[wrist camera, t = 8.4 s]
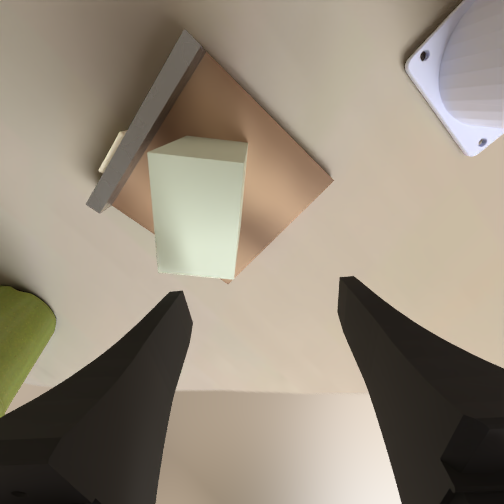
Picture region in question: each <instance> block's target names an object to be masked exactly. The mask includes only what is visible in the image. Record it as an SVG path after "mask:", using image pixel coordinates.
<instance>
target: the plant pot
mask: <svg viewBox="0 0 504 504" xmlns="http://www.w3.org/2000/svg"><path fill="white" fill-rule="evenodd" d="M55 325H56V319H55V316H54V314H53V312H52V311H51V309H50V308H49V307H48V306H47V305H46V304H45V303H44V302H43V301H42V300H40V299H39V298H38V297H36V296H35V295H33V294H31V293H25V292H21V291H18V290H16V289H14V288H13V287H10V286H0V418H1V417H2V416H4V415H5V412H6V410H7V408H8V407H9V405H10V403H11V402H12V400H13V398H14V397H15V395H16V393H17V392H18V390H19V389H20V387H21V385H22V384H23V382H24V380H25V379H26V377H27V375H28V374H29V372H30V371H31V369H32V367H33V366H34V364H35V362H36V361H37V359H38V357H39V356H40V354H41V353H42V351H43V349H44V348H45V346H46V344H47V343H48V341H49V340H50V338H51V336H52V334H53V333H54V330H55Z"/></svg>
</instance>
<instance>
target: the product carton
mask: <svg viewBox="0 0 504 504" xmlns="http://www.w3.org/2000/svg"><path fill="white" fill-rule="evenodd" d="M247 150H248V143H246V142H238V141H229V140H220V139H212V138H203V137H195V136H185V137H182V138H180V139H178V140H175V141H173V142H171V143H168V144H166V145H163V146H161V147H159V148H156V149H154V150H152V151H149V152H147V156H148V167H149V178H150V189H151V200H152V210H153V221H154V232H155V243H156V254H157V265H158V273H167V274H178V275H189V276H199V277H210V278H221V279H232V280H234V275H235V267H236V259H237V251H238V243H239V235H240V227H241V216H242V205H243V194H244V183H245V172H246V161H247Z"/></svg>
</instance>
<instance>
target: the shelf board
mask: <svg viewBox="0 0 504 504" xmlns="http://www.w3.org/2000/svg"><path fill="white" fill-rule="evenodd" d="M185 136H195V137H203V138H212V139H220V140H229V141H238V142H246V143H248V150H247V161H246V172H245V183H244V194H243V205H242V216H241V227H240V235H239V243H238V251H237V259H236V267H235V275H234V278H235V277H236V276H237V275H238V274H239V273H240V272H241V271H242V270H243V269H244V268H245V267H246V266H247V265H248V264H249V263H250V262H251V261H252V260H253V259H254V258H255V257H256V256H257V255H259V254H260V253H261V252H262V251H263V250H264V249H265V248H266V247H267V246H268V245H269V244H270V243H271V242H272V241H273V240H274V239H275V238H276V237H277V236H278V235H279V234H280V233H281V232H282V231H283V230H284V229H285V228H286V227H287V226H288V225H289V224H290V223H291V222H292V221H293V220H294V219H295V218H296V217H297V216H298V215H299V214H300V213H301V212H302V211H303V210H304V209H306V208H307V207H308V206H309V205H310V204H311V203H312V202H313V201H314V200H315V199H316V198H317V197H318V196H319V195H320V194H321V193H322V192H323V191H324V190H325V189H326V188H327V187H328V186H329V185H330V184H331V183H332V182H333V181H334V180H333V179H332V178H331V177H330V176H329V175H328V174H327V173H326V172H325V171H324V170H323V169H322V168H321V167H320V166H319V165H318V164H317V163H316V162H315V161H314V160H313V159H312V158H311V157H310V156H309V155H308V154H307V153H306V152H305V151H304V150H303V149H302V148H301V147H300V146H299V145H298V143H297V142H296V141H295V140H294V139H293V138H292V137H291V136H290V135H289V134H288V133H287V132H286V131H285V130H284V129H283V128H282V127H281V126H280V125H279V124H278V123H277V122H276V121H275V120H274V119H273V118H272V117H271V116H270V115H269V114H268V113H267V112H266V111H265V110H264V109H263V108H262V107H261V106H260V105H259V104H258V103H257V102H256V101H255V100H254V99H253V98H252V97H251V96H250V95H249V94H248V93H247V92H246V91H245V90H244V89H243V88H242V87H241V86H240V85H239V84H238V83H237V82H236V81H235V80H234V79H233V78H232V77H231V76H230V75H229V74H228V73H227V72H226V71H225V70H224V69H223V68H222V67H221V66H220V65H219V64H218V63H217V62H216V61H215V60H214V59H213V58H212V57H211V56H210V55H209V54H208V53H207V51H206V50H205V49H204V48H203V47H202V46H201V45H200V44H199V43H198V42H197V41H196V40H195V39H194V38H193V37H192V36H191V35H190V34H189V33H188V32H187V31H186V30H185V29H184V30H183V32H182V34H181V36H180V37H179V39H178V41H177V43H176V44H175V46H174V48H173V50H172V52H171V53H170V55H169V57H168V59H167V61H166V62H165V64H164V66H163V68H162V69H161V71H160V73H159V75H158V77H157V78H156V80H155V82H154V84H153V85H152V87H151V89H150V91H149V93H148V94H147V96H146V98H145V100H144V101H143V103H142V105H141V107H140V109H139V110H138V112H137V114H136V116H135V118H134V119H133V121H132V123H131V125H130V126H129V128H128V130H126V131H121V132H119V134H118V136H117V137H116V139H115V141H114V143H113V145H112V147H111V148H110V150H109V152H108V154H107V156H106V158H105V159H104V161H103V163H102V165H101V167H100V168H99V170H98V171H99V172H101V173H102V174H103V175H102V176H101V178H100V180H99V182H98V183H97V185H96V187H95V189H94V191H93V192H92V194H91V196H90V198H89V199H88V201H87V203H86V205H87V206H89V207H90V208H92V209H93V210H95V211H96V212H98V213H101V212H103V211H104V210H106V209H107V208H109V207H110V206H114V207H115V208H117V209H118V210H120V211H121V212H122V213H124V214H125V215H127V216H128V217H130V218H131V219H133V220H134V221H136V222H137V223H139V224H140V225H142V226H143V227H145V228H146V229H148V230H149V231H150V232H152V233H153V234H155V232H154V221H153V210H152V200H151V189H150V178H149V167H148V156H147V152H149V151H152V150H154V149H156V148H159V147H161V146H163V145H166V144H168V143H171V142H173V141H175V140H178V139H180V138H182V137H185ZM220 279H221V278H220ZM221 280H223V281H224V282H226V283H227V284H229V283H230V282H231V281H232V279H221Z"/></svg>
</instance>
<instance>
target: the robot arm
mask: <svg viewBox="0 0 504 504" xmlns="http://www.w3.org/2000/svg"><path fill="white" fill-rule="evenodd" d="M423 51H424V52H425V53H426V57H425V59H424V60H423V61H421V59H420V55H421V53H422V52H423ZM405 70H406V73H407V74H408V75H409V77H410V78H411V80H412V81H413V83H414V84H415V85H416V87H417V88H418V90H419V91H420V92H421V94H422V95H423V97H424V98H425V99H426V101H427V102H428V104H429V105H430V106H431V108H432V109H433V111H434V112H435V113H436V115H437V116H438V118H439V119H440V121H441V122H442V123H443V125H444V126H445V128H446V129H447V130H448V132H449V133H450V135H451V136H452V137H453V139H454V140H455V142H456V143H457V144H458V146H459V147H460V149H461V150H462V151H463V153H464V154H465V155H467V156H475V155H477V154H479V153H480V152H481V151H482V150H484V149H485V148H486V147H487V146H489V145H490V144H491V143H492V142H494V141H495V140H496V139H497V138H498V137H500V136H501V135H502V134H503V133H504V0H463V1H462V2H461V3H460V4H459V5H458V6H457V7H456V8H455V9H454V10H453V12H452V13H451V14H450V15H449V16H448V17H447V18H446V19H445V20H444V21H443V22H442V23H441V24H440V25H439V26H438V27H437V29H436V30H435V31H434V32H433V33H432V34H431V35H430V36H429V37H428V38H427V39H426V40H425V41H424V42H423V43H422V44H421V46H420V47H419V48H418V49H417V50H416V51H415V52H414V53H413V54H412V55H411V56H410V57H409V58H408V60H407V61H406V64H405ZM481 139H482V140H483V141H482V143H481V144H480V145H478V143H479V141H480V140H481ZM338 315H339V319H340V322H341V326H342V329H343V332H344V335H345V337H346V339H347V342H348V344H349V346H350V349H351V351H352V353H353V356H354V358H355V360H356V362H357V365H358V367H359V369H360V371H361V374H362V376H363V378H364V381H365V383H366V386H367V389H368V391H369V394H370V397H371V401H372V403H373V407H374V409H375V412H376V416H377V419H378V422H379V426H380V429H381V432H382V435H383V438H384V442H385V445H386V449H387V452H388V455H389V459H390V462H391V466H392V469H393V473H394V476H395V480H396V484H397V487H398V491H399V495H400V498H401V502H402V504H504V369H503V368H501V367H499V366H497V365H494V364H492V363H490V362H488V361H485V360H483V359H481V358H479V357H477V356H475V355H473V354H471V353H469V352H467V351H465V350H463V349H461V348H459V347H457V346H455V345H453V344H451V343H449V342H447V341H446V340H444V339H442V338H440V337H438V336H437V335H435V334H433V333H431V332H430V331H428V330H426V329H425V328H423V327H421V326H420V325H418V324H417V323H415V322H413V321H412V320H410V319H409V318H408V317H406V316H405V315H403V314H402V313H400V312H399V311H397V310H396V309H395V308H393V307H392V306H391V305H389V304H388V303H387V302H385V301H384V300H383V299H381V298H380V297H379V296H377V295H376V294H375V293H374V292H373V291H371V290H370V289H369V288H368V287H366V286H365V285H364V284H363V283H362V282H360V281H359V280H358V279H357V278H355V277H354V276H350V277H340V281H339V297H338ZM192 325H193V322H192V319H191V315H190V312H189V309H188V306H187V303H186V300H185V296H184V293H183V291H174V292H169V293H168V294H167V295H166V296H165V297H164V298H163V299H162V300H161V301H160V302H159V303H158V304H157V305H156V306H155V307H154V308H153V309H152V310H151V311H150V312H149V313H148V314H147V315H146V316H145V317H144V318H143V319H142V320H141V321H140V322H139V323H138V324H137V325H136V326H135V327H133V328H132V329H131V330H130V331H129V332H128V333H127V334H126V335H125V336H124V337H122V338H121V339H120V340H119V341H118V342H117V343H116V344H114V345H113V346H112V347H111V348H109V349H108V350H107V351H106V352H104V353H103V354H102V355H100V356H99V357H98V358H97V359H95V360H94V361H92V362H91V363H90V364H88V365H87V366H85V367H84V368H82V369H81V370H80V371H78V372H77V373H75V374H74V375H72V376H71V377H69V378H68V379H66V380H65V381H63V382H62V383H60V384H58V385H57V386H55V387H54V388H52V389H50V390H49V391H47V392H46V393H44V394H42V395H40V396H39V397H37V398H35V399H34V400H32V401H30V402H28V403H26V404H25V405H23V406H21V407H19V408H17V409H15V410H13V411H12V412H10V413H8V414H6V415H4V416H2V417H1V418H0V504H155V503H156V494H157V487H158V480H159V474H160V467H161V461H162V454H163V448H164V443H165V437H166V432H167V426H168V421H169V416H170V411H171V406H172V401H173V397H174V393H175V389H176V386H177V383H178V380H179V376H180V373H181V370H182V367H183V363H184V360H185V357H186V353H187V350H188V347H189V343H190V338H191V332H192Z"/></svg>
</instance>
